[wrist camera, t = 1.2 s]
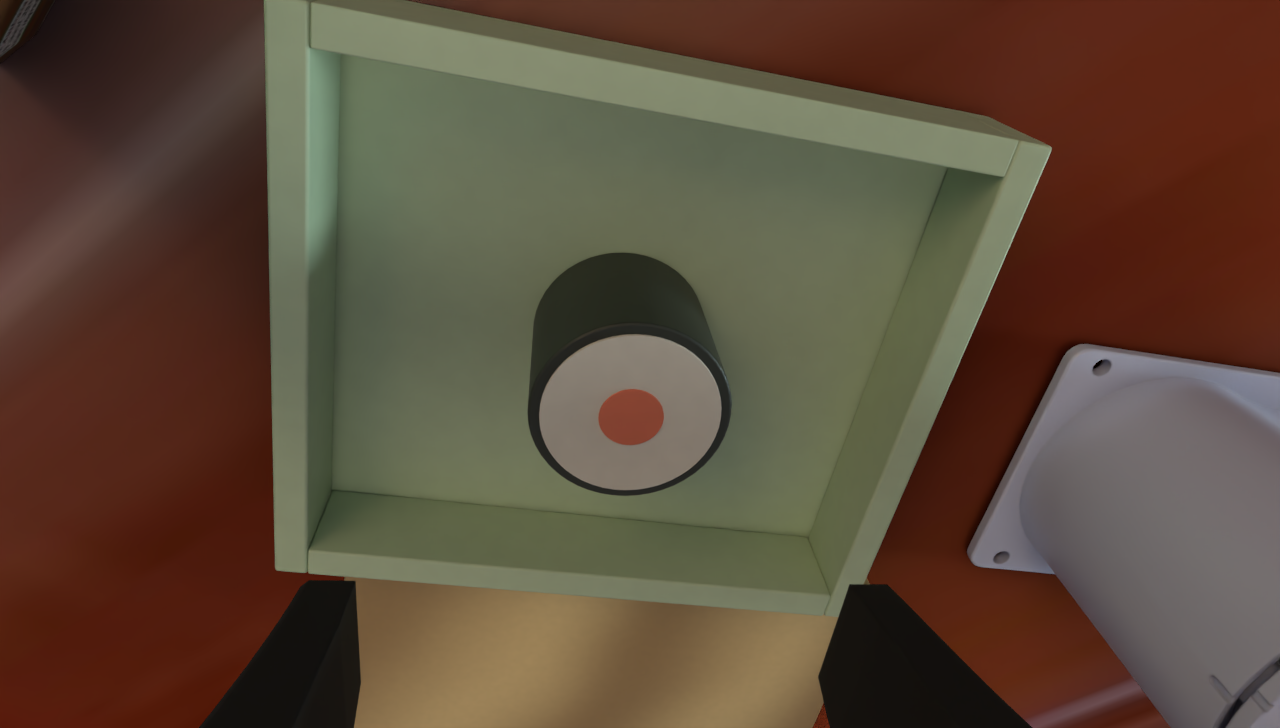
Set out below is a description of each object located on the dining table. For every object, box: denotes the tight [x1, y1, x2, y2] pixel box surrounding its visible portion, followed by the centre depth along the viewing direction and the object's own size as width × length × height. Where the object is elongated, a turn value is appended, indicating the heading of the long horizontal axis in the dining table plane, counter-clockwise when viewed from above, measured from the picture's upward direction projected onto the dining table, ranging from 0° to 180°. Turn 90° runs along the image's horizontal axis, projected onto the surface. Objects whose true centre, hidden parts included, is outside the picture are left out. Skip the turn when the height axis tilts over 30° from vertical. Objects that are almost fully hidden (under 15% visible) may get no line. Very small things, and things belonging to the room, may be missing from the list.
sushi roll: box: [527, 253, 732, 496], centre depth 19 cm, size 4×4×4 cm
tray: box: [264, 0, 1052, 617], centre depth 20 cm, size 16×14×3 cm
